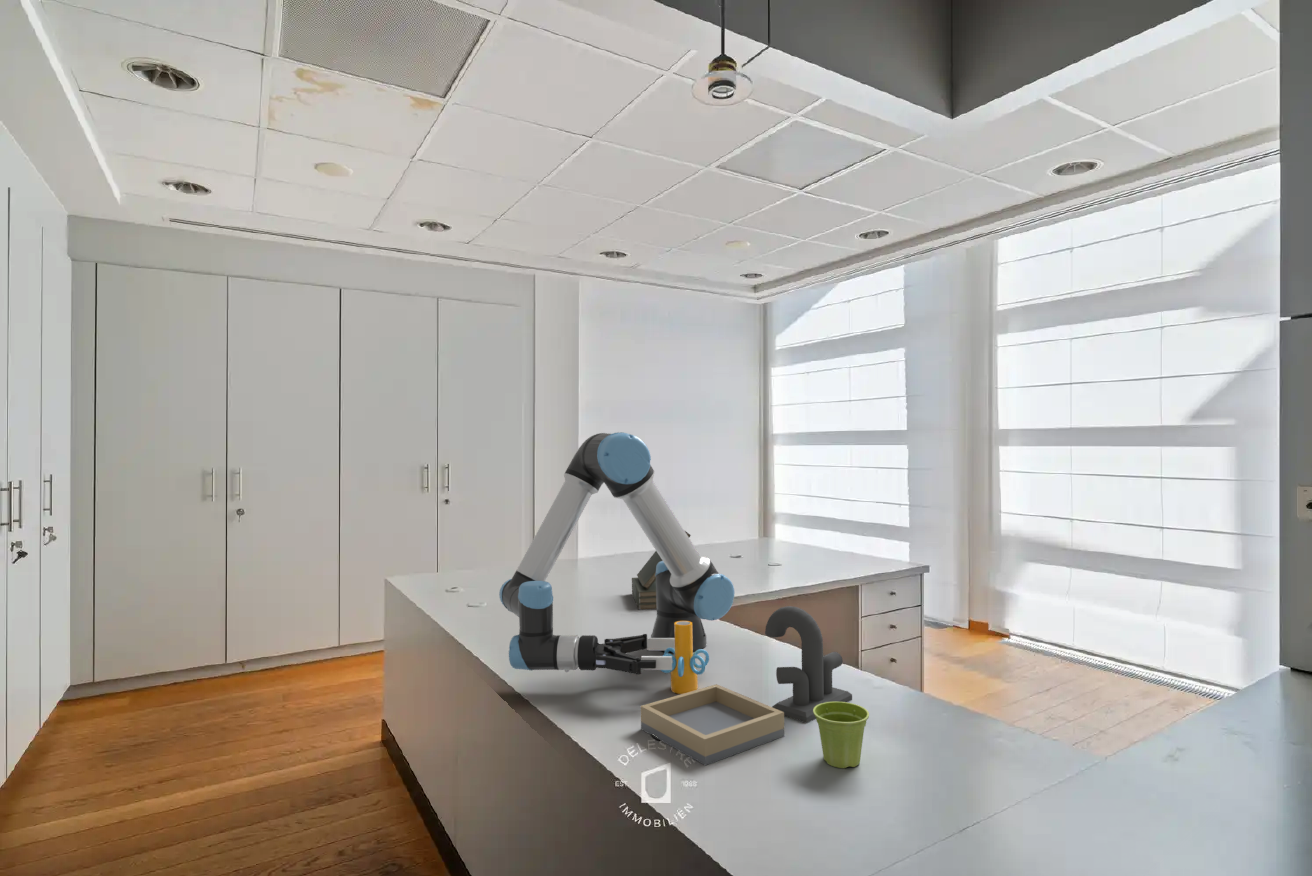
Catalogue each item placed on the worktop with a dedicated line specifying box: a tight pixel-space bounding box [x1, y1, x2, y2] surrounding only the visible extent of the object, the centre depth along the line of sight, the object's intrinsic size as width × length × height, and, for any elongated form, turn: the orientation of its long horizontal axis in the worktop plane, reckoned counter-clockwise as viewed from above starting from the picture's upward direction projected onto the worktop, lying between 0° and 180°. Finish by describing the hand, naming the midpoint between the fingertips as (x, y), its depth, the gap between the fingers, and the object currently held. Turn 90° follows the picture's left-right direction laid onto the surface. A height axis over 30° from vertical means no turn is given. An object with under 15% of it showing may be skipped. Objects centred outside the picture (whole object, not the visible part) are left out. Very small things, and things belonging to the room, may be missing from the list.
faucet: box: [764, 605, 853, 724], centre depth 154 cm, size 18×16×20 cm
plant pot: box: [813, 701, 870, 769], centre depth 125 cm, size 9×9×9 cm
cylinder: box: [660, 621, 710, 695], centre depth 161 cm, size 12×10×15 cm
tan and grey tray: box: [640, 683, 785, 766], centre depth 138 cm, size 19×19×4 cm
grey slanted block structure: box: [631, 529, 692, 610], centre depth 247 cm, size 23×20×25 cm
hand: (673, 653), depth 161 cm, fingers open, 13 cm apart
